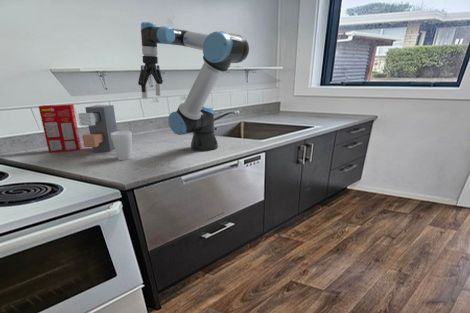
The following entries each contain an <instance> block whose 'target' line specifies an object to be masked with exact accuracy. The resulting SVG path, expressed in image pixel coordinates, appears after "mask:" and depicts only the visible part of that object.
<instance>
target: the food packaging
mask: <svg viewBox="0 0 470 313" xmlns="http://www.w3.org/2000/svg"><path fill="white" fill-rule="evenodd" d="M38 110H39V114H40V118H41V119H40V120H41V123H42V128H43V132H44V135H45V136H44V137H45V140H46V145H47V149H48V153H50V154H51V153H61V152H63V153H64V152H71V151H72V152H74V151H80V150H81V149H82V144H81V139H80V133H79V127H78V123H77V119H76V117H77V116H76V112H75V107H74V104H73V103H72V104H71V103H70V104H68V103H67V104H50V105H48V104H47V105H46V104H45V105H44V104H43V105H40V106H38Z"/></svg>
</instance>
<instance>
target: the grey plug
mask: <svg viewBox="0 0 470 313" xmlns="http://www.w3.org/2000/svg"><path fill="white" fill-rule="evenodd" d="M78 120H79V125H80V126H81V127H82V126H83V127H85V126H86V127H89V126H92V125H95V122H98V121H101V117H100V112H93V113H86V112H80V113H78Z"/></svg>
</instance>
